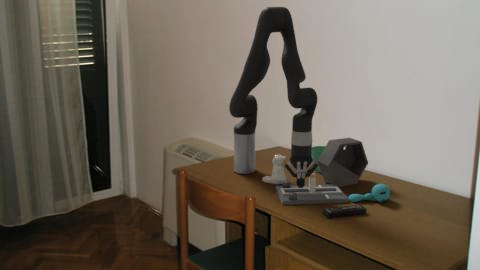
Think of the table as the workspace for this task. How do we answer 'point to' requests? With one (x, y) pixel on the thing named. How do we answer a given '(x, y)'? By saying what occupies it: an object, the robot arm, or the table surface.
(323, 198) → the console board
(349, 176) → the planter
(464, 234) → the table surface
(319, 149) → the mug
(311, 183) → the fader tab
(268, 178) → the sitting furry creature
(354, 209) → the multiport hub
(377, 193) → the toy
